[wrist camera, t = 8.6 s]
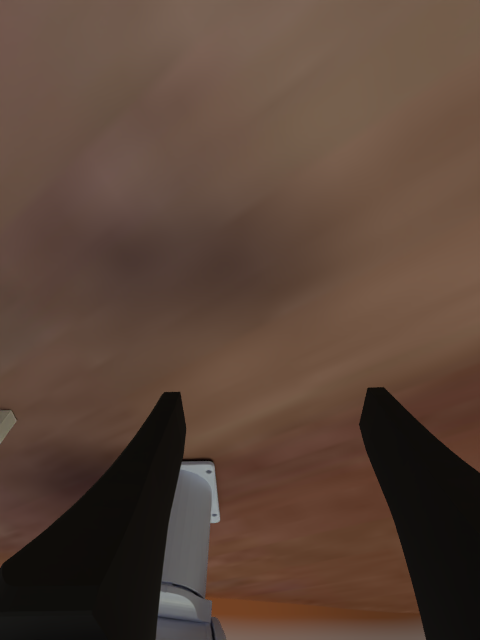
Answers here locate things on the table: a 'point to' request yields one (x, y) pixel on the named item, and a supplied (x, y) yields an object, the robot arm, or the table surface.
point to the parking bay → (6, 423)
